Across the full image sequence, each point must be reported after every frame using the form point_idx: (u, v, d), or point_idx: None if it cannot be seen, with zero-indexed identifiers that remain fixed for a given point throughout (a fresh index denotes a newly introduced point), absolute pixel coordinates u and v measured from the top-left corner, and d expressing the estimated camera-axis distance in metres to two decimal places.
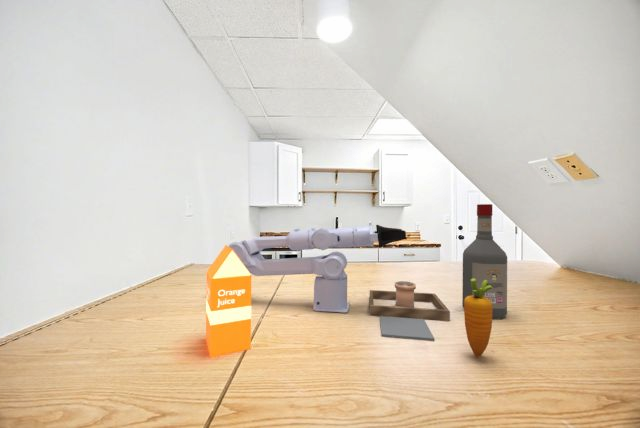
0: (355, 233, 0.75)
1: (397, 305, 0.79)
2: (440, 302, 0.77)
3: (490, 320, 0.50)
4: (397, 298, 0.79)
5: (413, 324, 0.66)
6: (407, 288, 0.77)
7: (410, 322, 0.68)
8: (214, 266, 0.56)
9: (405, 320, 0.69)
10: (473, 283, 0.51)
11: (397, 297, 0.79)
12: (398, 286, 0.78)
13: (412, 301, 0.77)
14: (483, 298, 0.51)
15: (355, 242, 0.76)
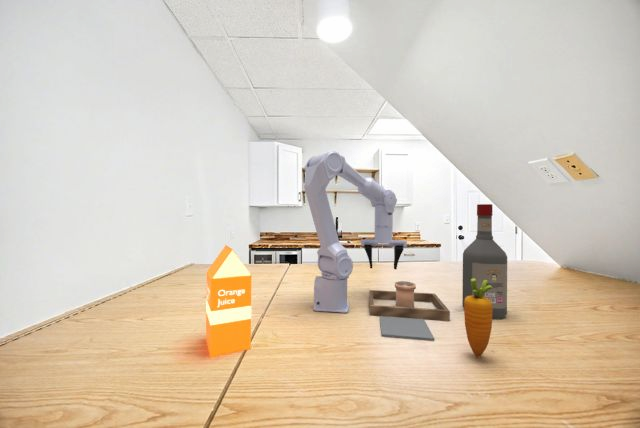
0: None
1: (397, 305, 0.79)
2: (440, 302, 0.77)
3: (490, 320, 0.50)
4: (397, 298, 0.79)
5: (413, 324, 0.66)
6: (407, 288, 0.77)
7: (410, 322, 0.68)
8: (214, 266, 0.56)
9: (405, 320, 0.69)
10: (473, 283, 0.51)
11: (397, 297, 0.79)
12: (398, 286, 0.78)
13: (412, 301, 0.77)
14: (483, 298, 0.51)
15: (391, 228, 0.88)
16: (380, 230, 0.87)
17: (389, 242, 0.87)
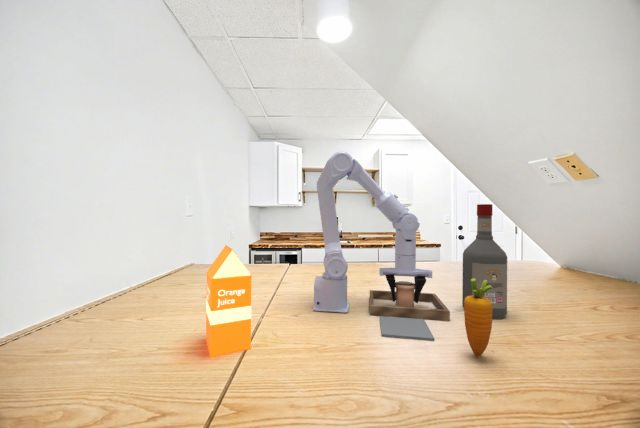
0: None
1: (397, 305, 0.79)
2: (440, 302, 0.77)
3: (490, 320, 0.50)
4: (397, 298, 0.79)
5: (413, 324, 0.66)
6: (407, 288, 0.77)
7: (410, 322, 0.68)
8: (214, 266, 0.56)
9: (405, 320, 0.69)
10: (473, 283, 0.51)
11: (397, 297, 0.79)
12: (398, 286, 0.78)
13: (412, 301, 0.77)
14: (483, 298, 0.51)
15: (415, 256, 0.78)
16: (402, 259, 0.77)
17: (412, 273, 0.77)
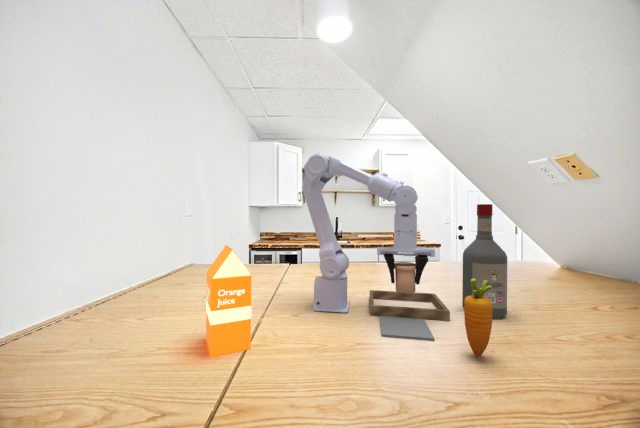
0: None
1: (397, 287, 0.72)
2: (440, 302, 0.77)
3: (490, 320, 0.50)
4: (397, 280, 0.72)
5: (413, 324, 0.66)
6: (407, 268, 0.70)
7: (410, 322, 0.68)
8: (214, 266, 0.56)
9: (405, 320, 0.69)
10: (473, 283, 0.51)
11: (396, 279, 0.72)
12: (397, 267, 0.71)
13: (413, 282, 0.71)
14: (483, 298, 0.51)
15: (416, 233, 0.71)
16: (402, 236, 0.70)
17: (413, 251, 0.70)
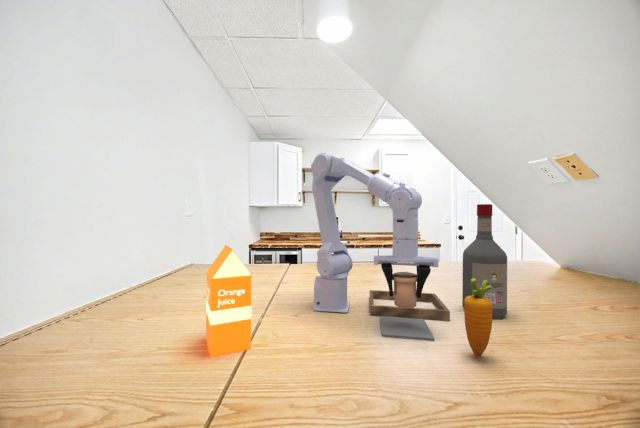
0: None
1: (395, 301, 0.65)
2: (440, 302, 0.77)
3: (490, 320, 0.50)
4: (395, 293, 0.65)
5: (413, 324, 0.66)
6: (407, 281, 0.62)
7: (410, 322, 0.68)
8: (214, 266, 0.56)
9: (405, 320, 0.69)
10: (473, 283, 0.51)
11: (395, 292, 0.65)
12: (396, 279, 0.64)
13: (414, 296, 0.63)
14: (483, 298, 0.51)
15: (416, 240, 0.63)
16: (401, 244, 0.63)
17: (414, 261, 0.62)
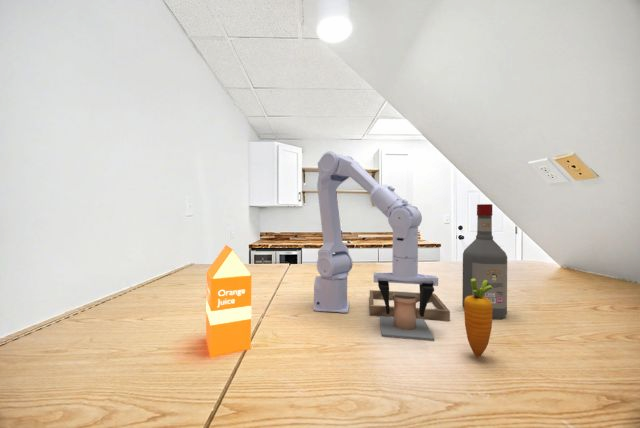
0: None
1: (395, 322, 0.65)
2: (440, 302, 0.77)
3: (490, 320, 0.50)
4: (395, 313, 0.65)
5: None
6: (407, 302, 0.63)
7: None
8: (214, 266, 0.56)
9: None
10: (473, 283, 0.51)
11: (395, 312, 0.65)
12: (396, 299, 0.64)
13: (413, 317, 0.64)
14: (483, 298, 0.51)
15: (416, 259, 0.63)
16: (401, 262, 0.63)
17: (414, 279, 0.62)
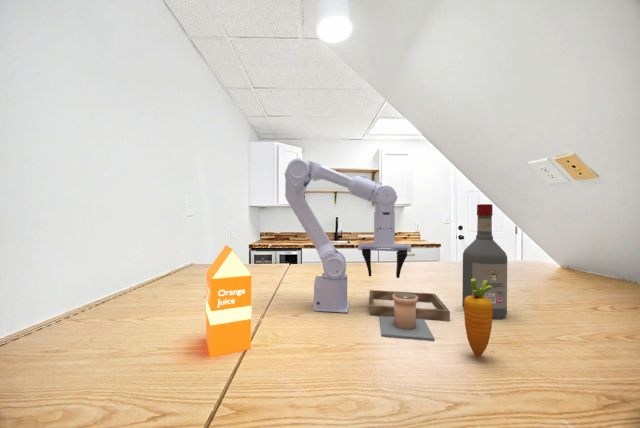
0: None
1: (395, 322, 0.65)
2: (440, 302, 0.77)
3: (490, 320, 0.50)
4: (395, 313, 0.65)
5: None
6: (407, 302, 0.63)
7: None
8: (214, 266, 0.56)
9: None
10: (473, 283, 0.51)
11: (395, 312, 0.65)
12: (396, 299, 0.64)
13: (413, 317, 0.64)
14: (483, 298, 0.51)
15: (393, 230, 0.76)
16: (380, 232, 0.76)
17: (391, 246, 0.75)
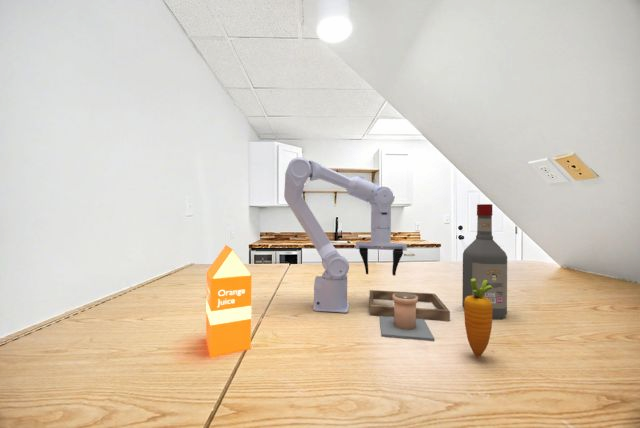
0: None
1: (395, 322, 0.65)
2: (440, 302, 0.77)
3: (490, 320, 0.50)
4: (395, 313, 0.65)
5: None
6: (407, 302, 0.63)
7: None
8: (214, 266, 0.56)
9: None
10: (473, 283, 0.51)
11: (395, 312, 0.65)
12: (396, 299, 0.64)
13: (413, 317, 0.64)
14: (483, 298, 0.51)
15: (389, 229, 0.79)
16: (377, 232, 0.78)
17: (387, 245, 0.78)
